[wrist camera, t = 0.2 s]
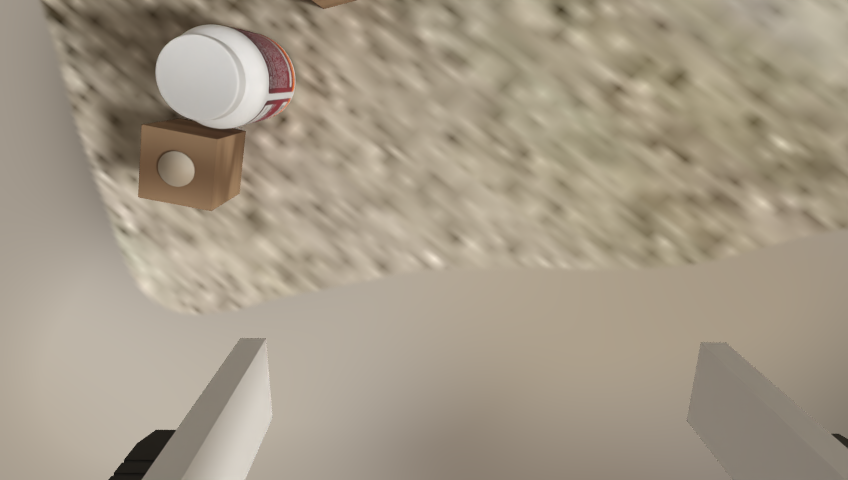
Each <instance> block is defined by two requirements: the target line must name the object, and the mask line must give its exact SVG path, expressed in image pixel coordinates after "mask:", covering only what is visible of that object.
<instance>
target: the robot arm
mask: <svg viewBox="0 0 848 480" xmlns="http://www.w3.org/2000/svg"><path fill="white" fill-rule="evenodd" d="M271 406H272V405H271V395H270V382H269V370H268V359H267V345H266V338H262V339H261V338H260V339H259V338H241V339H240V340H239V341H238V343H237V344H236V345H235V347H234V348H233V350H232V351H231V353H230V354H229V355H228V357H227V358H226V360H225V361H224V363H223V364H222V365H221V367H220V368H219V370H218V371H217V373H216V374H215V375H214V377H213V378H212V380H211V381H210V383H209V384H208V385H207V387H206V389H205V390H204V391H203V393H202V394H201V395H200V397H199V399H198V400H197V401H196V403H195V404H194V406H193V407H192V408H191V410H190V411H189V413H188V414H187V415H186V417H185V418H184V420H183V421H182V423H181V424H180V425H179V427H178V428H177V430H155V431H154V432H152V433H151V434H150V435H148V436H147V437H145V438H144V439H143V440H141V441H140V442H138V443H137V444H136V446H135V447H134V448H133V449H132V451H131V452H130V453H129V454H128V456H127V457H126V458H125V460H124V463H121V465H120V466H119V467H118V468H117V470H116V471H115V472H114V476H111V477H110V479H109V480H245V478H246V476H247V474H248V472H249V469H250V467H251V465H252V463H253V460H254V458H255V456H256V453H257V451H258V448H259V447H260V444H261V442H262V440H263V438H264V435H265V433H266V431H267V429H268V426H269V424H270V422H271V419H272V407H271ZM687 422H688V423H689V424H690V426H691V427H692V428H693V429H694V431H695V432H696V433H697V435H698V436H699V437H700V439H701V440H702V441H703V442H704V444H705V445H706V446H707V448H708V449H709V450H710V451H711V453H712V454H713V455H714V457H715V458H716V459H717V461H718V462H719V463H720V464H721V466H722V467H723V468H724V470H725V471H726V472H727V473H728V475H729V476H730V477H731V478H732V480H848V439H846V438H845V437H843V436H841V435H839V434H830V433H829V432H828V431H827V430H826V429H825V428H824V427H822V426H821V425H820V424H819V423H818V422H817V421H816V420H814V419H813V418H812V417H811V416H810V415H809V414H807V413H806V412H805V411H804V410H803V409H802V408H800V407H799V406H798V405H797V404H796V403H795V402H794V401H793V400H791V399H790V398H789V397H788V396H787V395H786V394H784V393H783V392H782V391H781V390H780V389H779V388H778V387H776V386H775V385H774V384H773V383H772V382H771V381H770V380H768V379H767V378H766V377H765V376H764V375H763V374H762V373H760V372H759V371H758V370H757V369H756V368H755V367H753V366H752V365H751V364H750V363H749V362H748V361H747V360H745V359H744V358H743V357H742V356H741V355H740V354H738V353H737V352H736V351H735V350H734V349H733V348H732V347H730V346H729V345H728V344H727V343H711V342H701V344H700V350H699V355H698V361H697V366H696V372H695V377H694V383H693V389H692V394H691V399H690V405H689V411H688V416H687Z"/></svg>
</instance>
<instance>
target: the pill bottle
mask: <svg viewBox="0 0 848 480" xmlns="http://www.w3.org/2000/svg"><path fill="white" fill-rule="evenodd" d="M155 75H156V82H157V86H158V89H159V91H160V93H161V95H162V97H163V98H164V100H165V101H166V103H167V104H168V105H169V106H170V107H171V108H172V109H173V110H175V111H176V112H177V113H179V114H180V115H182V116H184V117H186V118H189V119H193V120H194V121H196V122H198V123H200V124H202V125H204V126H207V127H211V128H217V129H228V128H234V127H239V126H243V125H246V124H250V123H254V122H257V121H261V120H265V119H268V118H271V117H273V116H275V115H277V114H279V113H280V112H281V111H283V110H284V109H285V108H286V106H287V105H288V104H289V102H290V101H291V99H292V96H293V94H294V90H295V71H294V67H293V64H292V62H291V60H290V58H289V56H288V54H287V53H286V52H285V50H284V49H283V48H282V47H281V46H280V45H279V44H277V43H276V42H275V41H273V40H272V39H270V38H268V37H265V36H263V35H260V34H256V33H252V32H248V31H244V30H241V29H236V28H231V27H227V26H222V25H215V24H208V25H201V26H197V27H194V28H192V29H190V30H188V31H186V32H185V33H183V34H182V35H181V36H179V37H176V38H174V39H173V40H171V41H170V42H169V43H167V44H166V45H165V46H164V48H163V49H162V51H161V52H160V54H159V56H158V59H157V62H156V70H155Z"/></svg>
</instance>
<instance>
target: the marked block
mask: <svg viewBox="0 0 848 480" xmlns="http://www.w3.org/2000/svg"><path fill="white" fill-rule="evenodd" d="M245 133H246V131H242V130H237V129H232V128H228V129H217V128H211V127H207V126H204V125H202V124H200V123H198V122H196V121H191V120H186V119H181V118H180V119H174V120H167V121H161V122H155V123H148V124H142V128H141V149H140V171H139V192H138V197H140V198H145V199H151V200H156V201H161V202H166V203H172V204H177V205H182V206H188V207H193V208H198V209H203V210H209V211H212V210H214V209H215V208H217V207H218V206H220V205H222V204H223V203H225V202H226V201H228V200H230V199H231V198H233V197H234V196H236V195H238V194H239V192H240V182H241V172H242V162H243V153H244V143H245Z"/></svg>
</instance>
